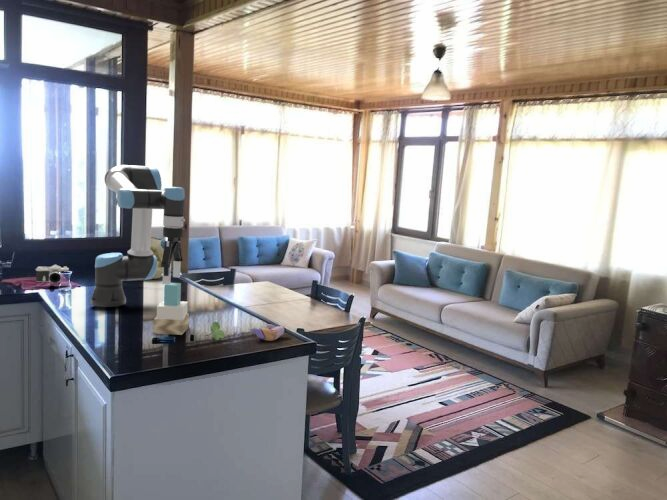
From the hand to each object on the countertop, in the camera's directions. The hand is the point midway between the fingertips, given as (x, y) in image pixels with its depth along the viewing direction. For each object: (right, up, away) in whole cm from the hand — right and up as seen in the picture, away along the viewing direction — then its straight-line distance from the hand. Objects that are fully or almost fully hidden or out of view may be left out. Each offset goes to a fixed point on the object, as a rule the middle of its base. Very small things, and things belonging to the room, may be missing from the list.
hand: (171, 280), depth 212 cm
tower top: (0, -14, +2) cm, 14 cm away
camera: (-86, -6, +75) cm, 115 cm away
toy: (+33, -20, -6) cm, 39 cm away
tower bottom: (-1, -20, +2) cm, 20 cm away
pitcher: (-46, -4, +107) cm, 116 cm away
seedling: (+14, -22, -3) cm, 26 cm away
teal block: (0, -9, +1) cm, 9 cm away
